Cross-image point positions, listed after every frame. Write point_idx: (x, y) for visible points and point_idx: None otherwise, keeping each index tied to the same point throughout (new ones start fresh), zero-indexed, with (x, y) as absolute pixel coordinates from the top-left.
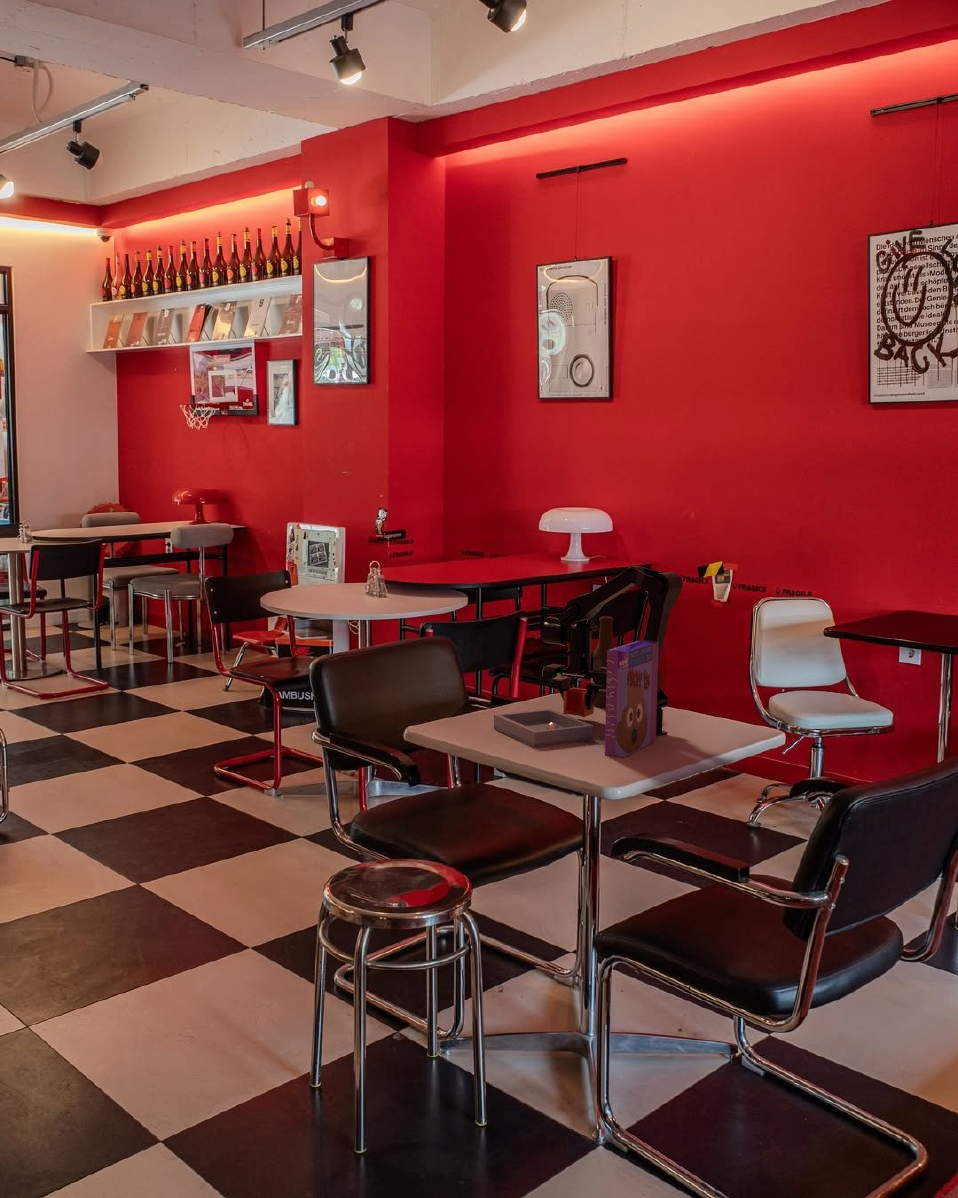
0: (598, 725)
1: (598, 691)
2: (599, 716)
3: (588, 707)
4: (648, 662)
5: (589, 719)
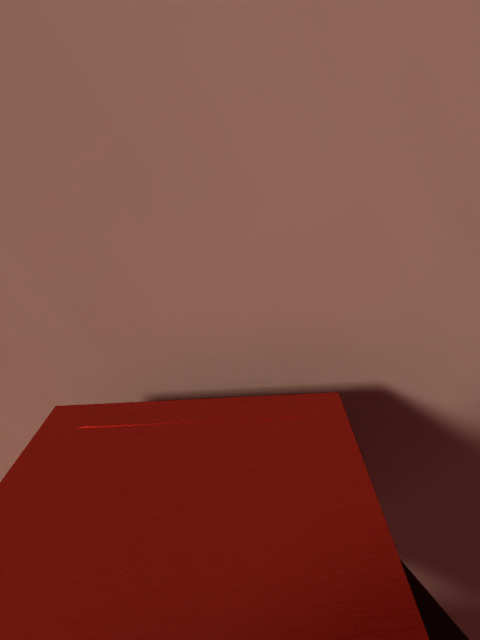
0: (452, 482)
1: None
2: (287, 144)
3: None
4: None
5: (270, 346)
